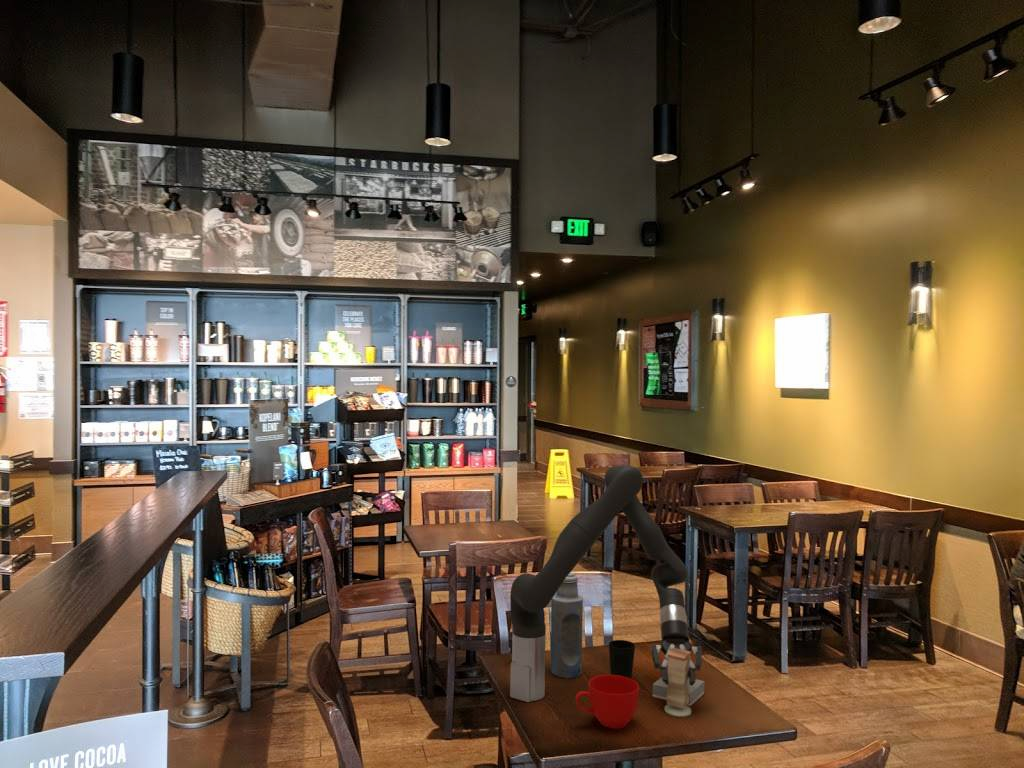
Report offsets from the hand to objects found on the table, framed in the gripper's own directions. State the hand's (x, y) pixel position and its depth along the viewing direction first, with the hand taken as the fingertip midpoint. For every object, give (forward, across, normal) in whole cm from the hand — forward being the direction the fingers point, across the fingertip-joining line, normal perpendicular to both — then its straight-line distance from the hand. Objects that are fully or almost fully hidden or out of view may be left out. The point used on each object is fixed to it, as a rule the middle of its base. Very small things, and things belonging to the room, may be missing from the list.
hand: (679, 683), depth 198 cm
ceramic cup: (+12, -20, 0) cm, 23 cm away
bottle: (-12, -30, +24) cm, 40 cm away
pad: (+5, 0, +7) cm, 8 cm away
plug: (+3, 0, +6) cm, 7 cm away
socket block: (-3, +2, +15) cm, 15 cm away
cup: (-6, -14, +18) cm, 24 cm away
